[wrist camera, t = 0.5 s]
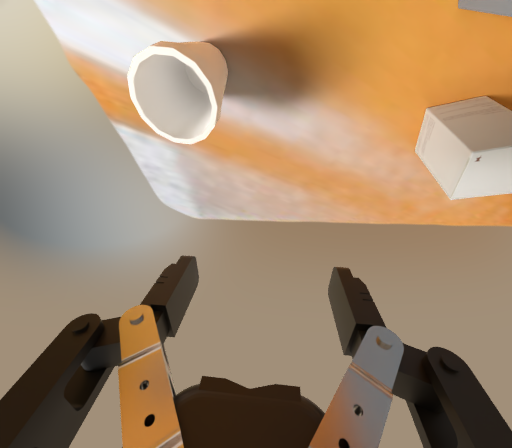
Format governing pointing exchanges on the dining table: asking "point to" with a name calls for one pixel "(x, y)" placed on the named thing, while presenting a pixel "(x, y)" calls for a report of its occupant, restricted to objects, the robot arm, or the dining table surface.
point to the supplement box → (468, 147)
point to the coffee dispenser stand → (488, 6)
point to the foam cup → (179, 88)
